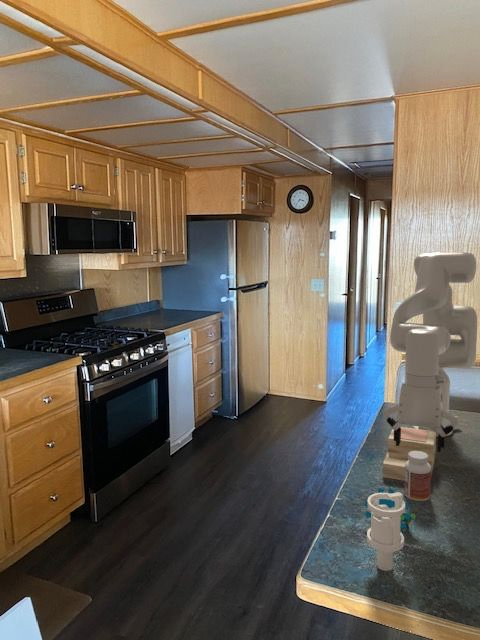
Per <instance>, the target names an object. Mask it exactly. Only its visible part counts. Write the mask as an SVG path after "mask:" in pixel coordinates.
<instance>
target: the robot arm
mask: <svg viewBox="0 0 480 640" xmlns="http://www.w3.org/2000/svg"><path fill="white" fill-rule="evenodd" d="M413 268H414V272H415V275H416V284H415V289H414V293H412V294H411V295H410V296H408V297H407V298H406V299H404V300H403V301H402V302H401V303H400V304H399V305H398V307H397V308H396V310H395V312H394V313H393V318H392V322H391V328H390V333H389V337H390V338H389V342H390V346H391V347H392V349H393V350H395V351H396V352H400V353H405V354H404V355H405V356H404V357H405V358H404V359H405V360H404V361H405V362H404V381H403V382H401V386H400V390H399V396H398V403H397V404H396V405H393V406H390V407H388V408H385V409H383V411H382V414H383V416H384V418H385V420H386V422H387V424H389V425H390V426H391V428H392V429H393V430H394V441H396V446H399V444H400V442H401V428H400V427H402V425H405V426H406V425H407V426H412V428H413V429H420V430H428V431H435V432H436V438H437V446H436V447H437V448H436V450H437V452H438V453H441V452H442V451H441V450H442V449H445V443H446V442H445V440H446V439H445V438H446V437H448V436H451V435H452V434H453V432H454V429H455V427H456V426H457V425H458V423H459V422H460V420H461V419H460V417H459V416H458V415H457V416H456V415H455V416H454V415H453V414H450V413H449V412H450V392H451V391H450V389H451V380H450V378H449V375H448V373H447V372H446V371H445V369H444V368H446V369H447V368H449V369H462V370H469V369H472V368H473V367H474V365H475V364H476V360H477V358H476V357H477V340H478V338H477V337H478V314H477V310H476V309H475V308H473V307H472V306H469V305H454V304H453V288H452V286H451V284H450V283H453V284H454V283H456V284H457V283H458V284H459V283H460V284H470V283H472V281H473V280H474V278H475V276H476V272H477V259H476V256H475V255H474V254H473V253H471V252H463V251H462V252H460V251H459V252H458V251H457V252H453V251H451V252H431V253H430V252H429V253H422V254H419V255H417V256H416V257H415V258H414V261H413ZM419 315H422V323H415V322H413V323H412V322H408V321H409V320H411V319H412V318H415V317H417V316H419ZM451 336H458V337H459V338H452V337H451ZM393 413H397V420H395V419H394V418H393V416H392V415H391V414H393Z"/></svg>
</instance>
